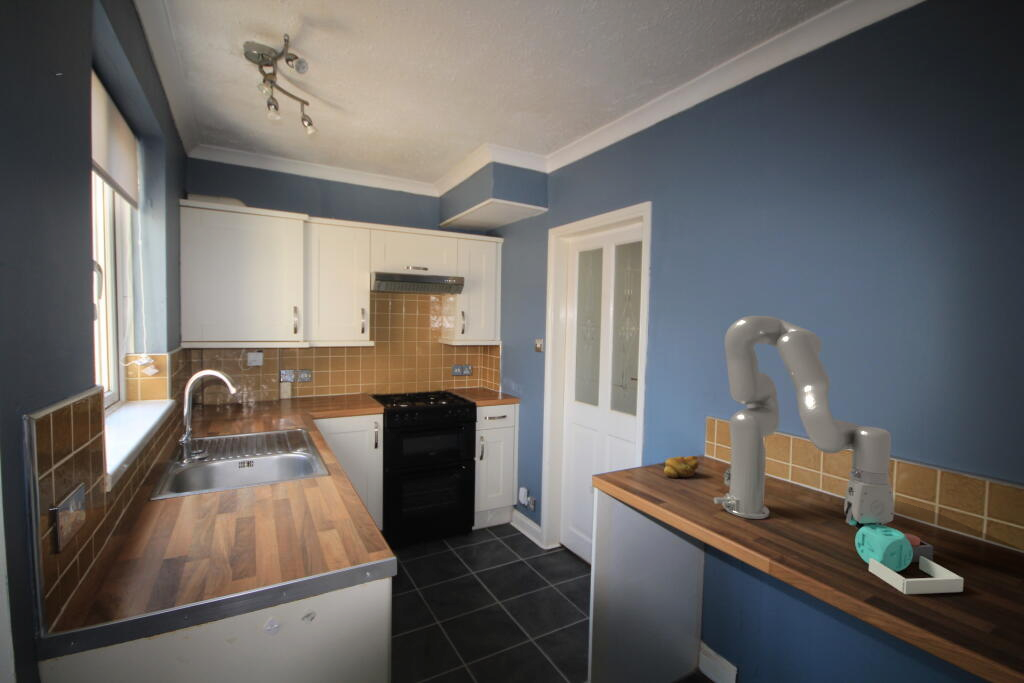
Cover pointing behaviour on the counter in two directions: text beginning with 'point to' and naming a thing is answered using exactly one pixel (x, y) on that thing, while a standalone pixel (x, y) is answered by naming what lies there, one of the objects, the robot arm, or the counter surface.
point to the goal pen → (939, 584)
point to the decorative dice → (884, 546)
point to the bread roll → (681, 466)
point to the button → (912, 539)
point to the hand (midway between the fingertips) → (865, 545)
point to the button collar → (922, 551)
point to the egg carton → (727, 477)
